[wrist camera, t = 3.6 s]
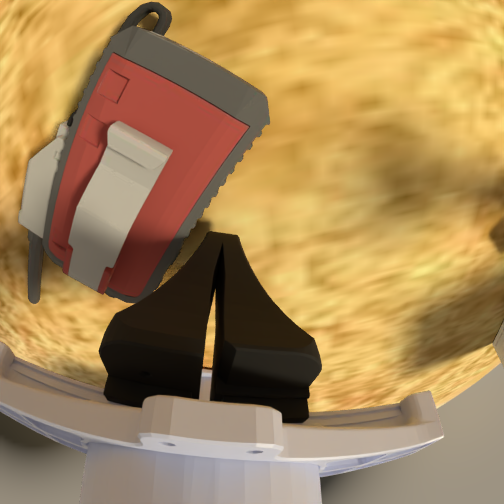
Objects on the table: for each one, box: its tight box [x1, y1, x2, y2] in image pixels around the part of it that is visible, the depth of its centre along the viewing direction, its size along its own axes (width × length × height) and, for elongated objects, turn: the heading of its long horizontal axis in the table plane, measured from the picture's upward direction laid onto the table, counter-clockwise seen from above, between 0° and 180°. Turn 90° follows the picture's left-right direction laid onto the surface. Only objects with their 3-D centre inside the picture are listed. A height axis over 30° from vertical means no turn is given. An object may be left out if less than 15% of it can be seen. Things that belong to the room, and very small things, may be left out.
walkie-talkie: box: [18, 2, 270, 304], centre depth 11 cm, size 9×4×20 cm
